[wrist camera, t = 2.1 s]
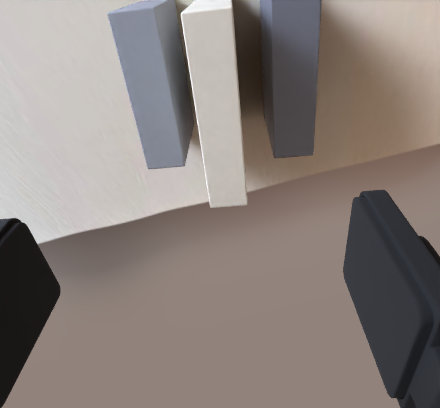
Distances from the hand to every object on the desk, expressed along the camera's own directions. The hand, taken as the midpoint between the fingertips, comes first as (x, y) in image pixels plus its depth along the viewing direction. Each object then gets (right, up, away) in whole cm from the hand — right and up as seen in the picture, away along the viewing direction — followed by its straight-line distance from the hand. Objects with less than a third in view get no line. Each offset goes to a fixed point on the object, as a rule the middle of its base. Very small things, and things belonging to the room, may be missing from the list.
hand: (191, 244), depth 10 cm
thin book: (+1, +14, +21) cm, 25 cm away
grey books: (+1, +14, +21) cm, 25 cm away
